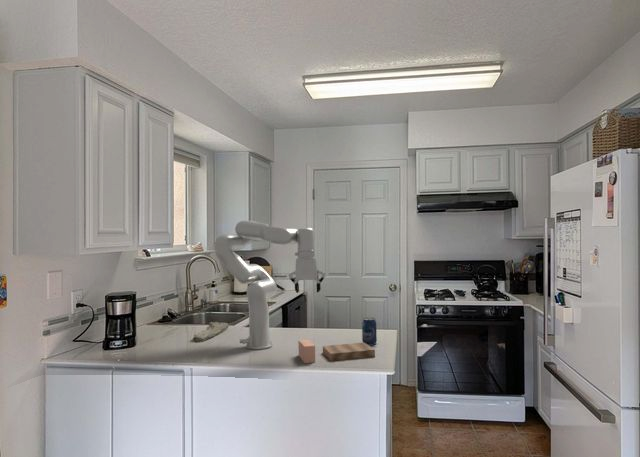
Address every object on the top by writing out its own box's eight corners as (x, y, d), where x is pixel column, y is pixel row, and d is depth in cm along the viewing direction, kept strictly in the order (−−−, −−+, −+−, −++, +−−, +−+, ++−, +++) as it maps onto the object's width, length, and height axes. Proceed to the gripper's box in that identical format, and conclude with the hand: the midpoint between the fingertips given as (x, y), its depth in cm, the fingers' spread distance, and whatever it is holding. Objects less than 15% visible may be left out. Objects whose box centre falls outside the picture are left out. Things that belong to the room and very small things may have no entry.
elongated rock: (187, 344, 221) (206, 346, 219) (188, 334, 220) (206, 336, 219) (216, 326, 255) (232, 327, 253) (216, 317, 255) (232, 318, 253)
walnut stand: (331, 360, 184) (330, 353, 184) (322, 352, 196) (322, 346, 196) (375, 356, 189) (374, 349, 189) (364, 348, 202) (364, 342, 202)
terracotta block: (304, 363, 181) (304, 346, 181) (298, 355, 193) (298, 339, 193) (315, 362, 183) (315, 345, 183) (308, 354, 194) (308, 339, 194)
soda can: (362, 345, 208) (361, 320, 209) (362, 341, 215) (362, 317, 215) (376, 345, 207) (376, 320, 207) (376, 341, 214) (376, 317, 214)
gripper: (285, 256, 197) (287, 293, 197) (323, 254, 194) (325, 292, 194) (290, 255, 205) (291, 291, 204) (326, 253, 202) (327, 290, 201)
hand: (307, 292), depth 199 cm, fingers open, 9 cm apart
